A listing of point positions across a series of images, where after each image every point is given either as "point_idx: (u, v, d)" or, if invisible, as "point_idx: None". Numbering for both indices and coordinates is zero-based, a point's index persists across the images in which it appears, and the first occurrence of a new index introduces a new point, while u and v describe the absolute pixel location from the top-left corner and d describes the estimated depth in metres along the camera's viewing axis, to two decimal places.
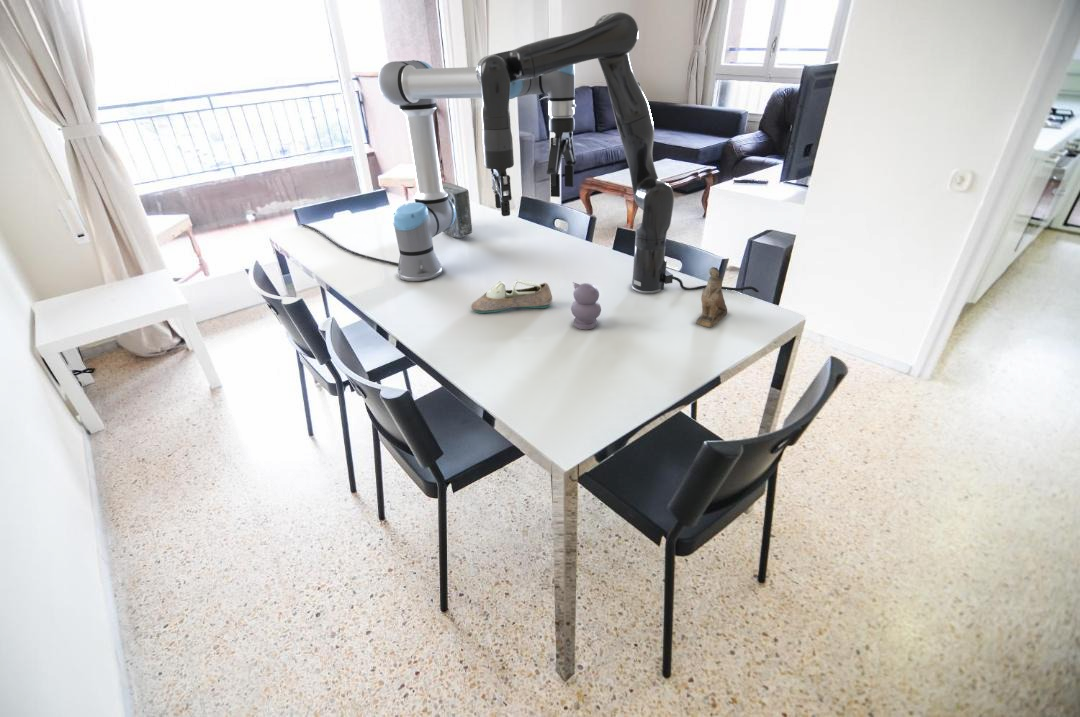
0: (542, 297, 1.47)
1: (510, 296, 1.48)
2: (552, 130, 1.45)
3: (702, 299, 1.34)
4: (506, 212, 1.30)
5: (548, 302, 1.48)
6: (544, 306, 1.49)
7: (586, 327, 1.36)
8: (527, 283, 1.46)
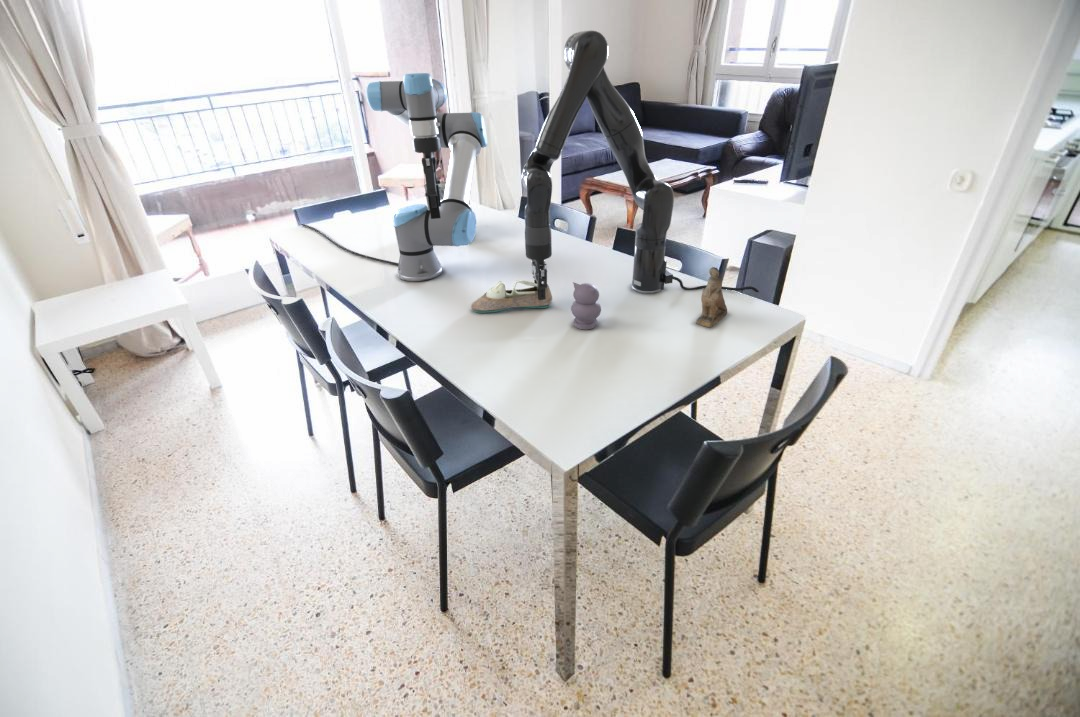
0: None
1: (510, 296, 1.48)
2: (420, 151, 1.38)
3: (702, 299, 1.34)
4: (542, 297, 1.45)
5: (548, 302, 1.48)
6: (544, 306, 1.49)
7: (586, 327, 1.36)
8: (527, 283, 1.46)
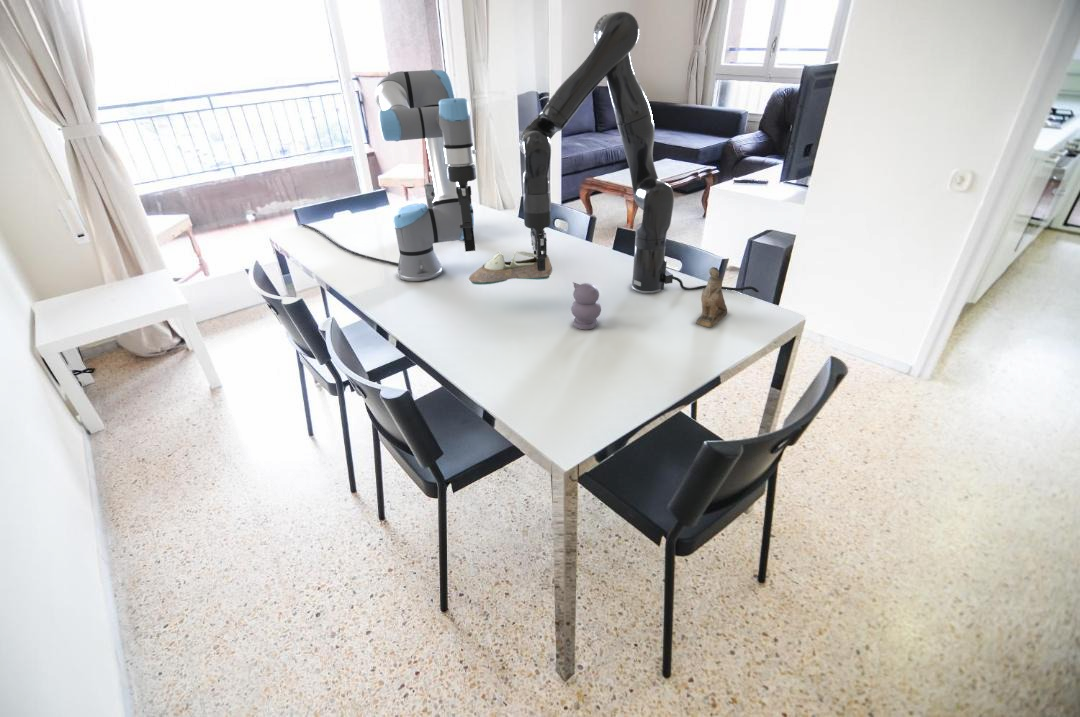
0: None
1: (509, 267, 1.44)
2: (455, 180, 1.29)
3: (702, 299, 1.34)
4: (541, 268, 1.41)
5: (548, 273, 1.44)
6: (544, 278, 1.45)
7: (586, 327, 1.36)
8: (526, 254, 1.43)
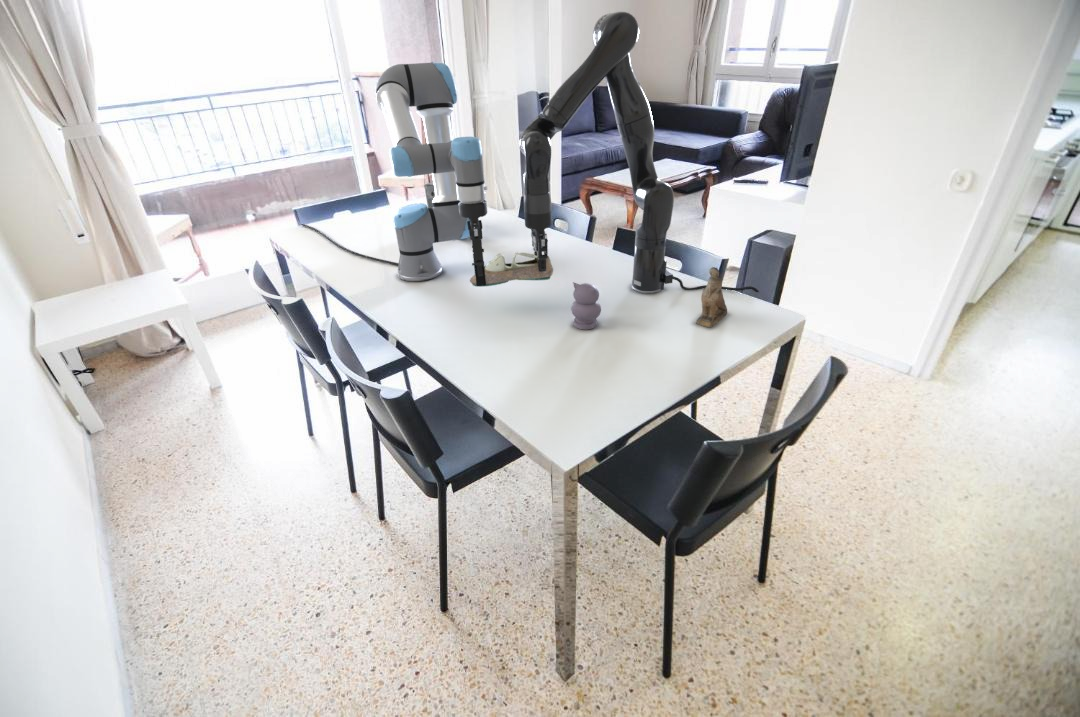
0: None
1: (510, 269, 1.44)
2: (467, 216, 1.32)
3: (702, 299, 1.34)
4: (542, 268, 1.41)
5: (549, 274, 1.44)
6: (545, 278, 1.44)
7: (586, 327, 1.36)
8: (527, 255, 1.42)
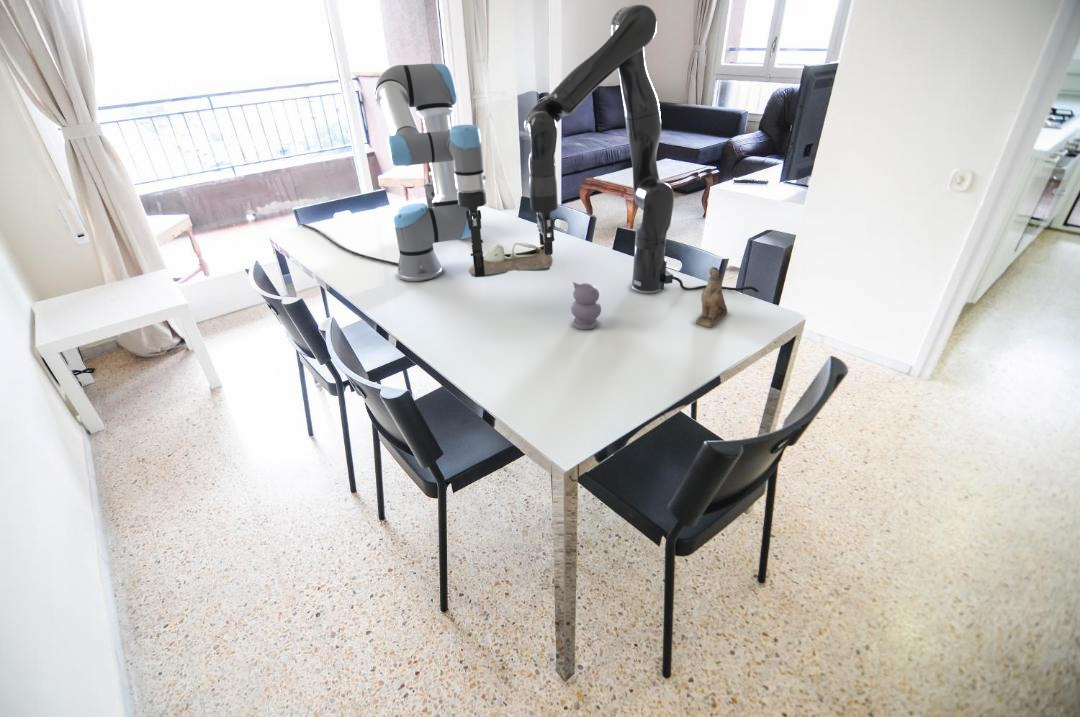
0: (543, 260, 1.41)
1: (509, 259, 1.42)
2: (465, 205, 1.30)
3: (702, 299, 1.34)
4: (549, 251, 1.38)
5: (548, 265, 1.42)
6: (544, 269, 1.43)
7: (586, 327, 1.36)
8: (526, 245, 1.41)
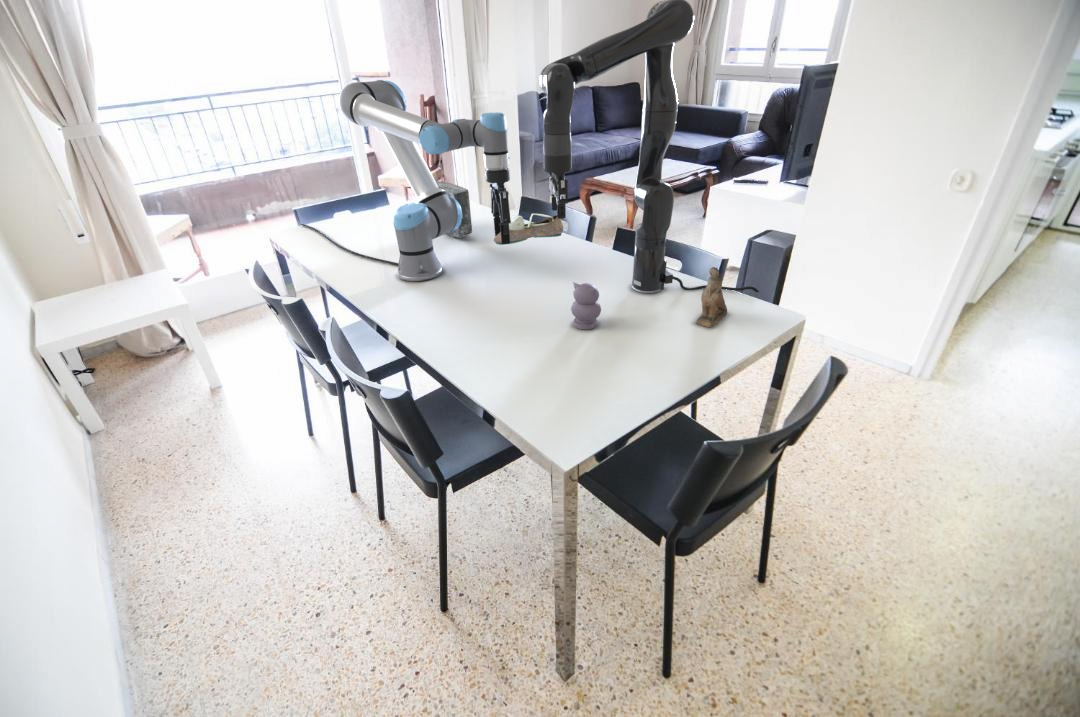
0: (556, 226, 1.67)
1: (527, 228, 1.66)
2: (494, 181, 1.53)
3: (702, 299, 1.34)
4: (562, 215, 1.33)
5: (561, 231, 1.68)
6: (558, 235, 1.69)
7: (586, 327, 1.36)
8: (542, 215, 1.66)
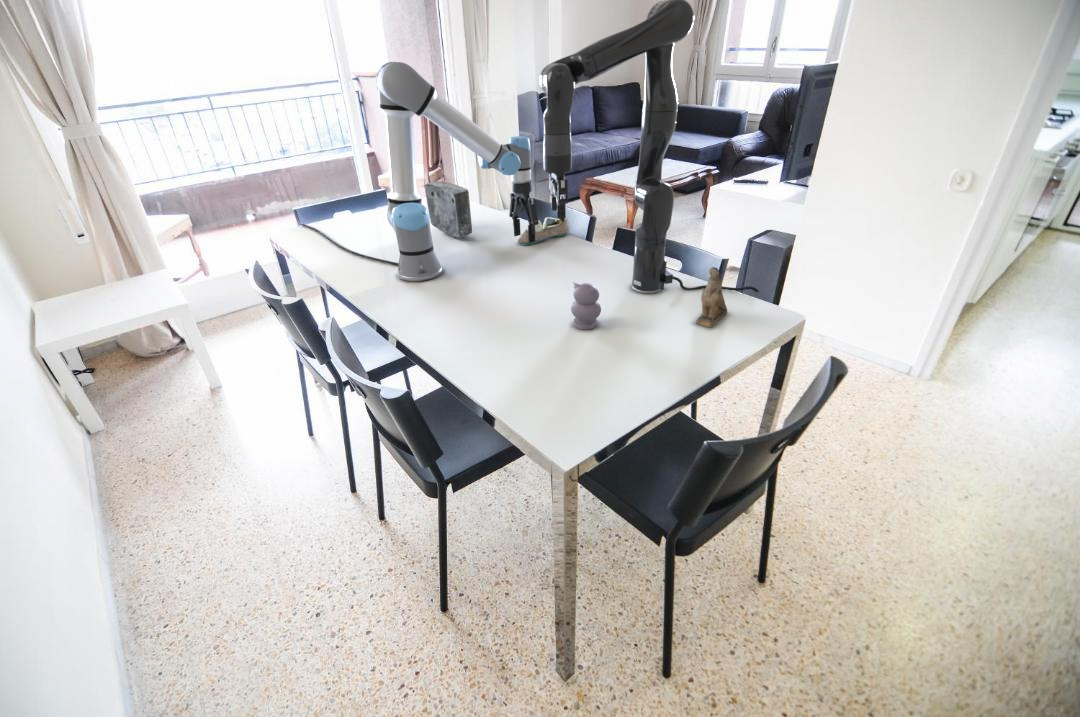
0: (565, 227, 2.05)
1: (543, 230, 2.03)
2: (522, 192, 1.87)
3: (702, 299, 1.34)
4: (562, 215, 1.33)
5: (568, 230, 2.07)
6: (565, 234, 2.07)
7: (586, 327, 1.36)
8: (553, 218, 2.03)
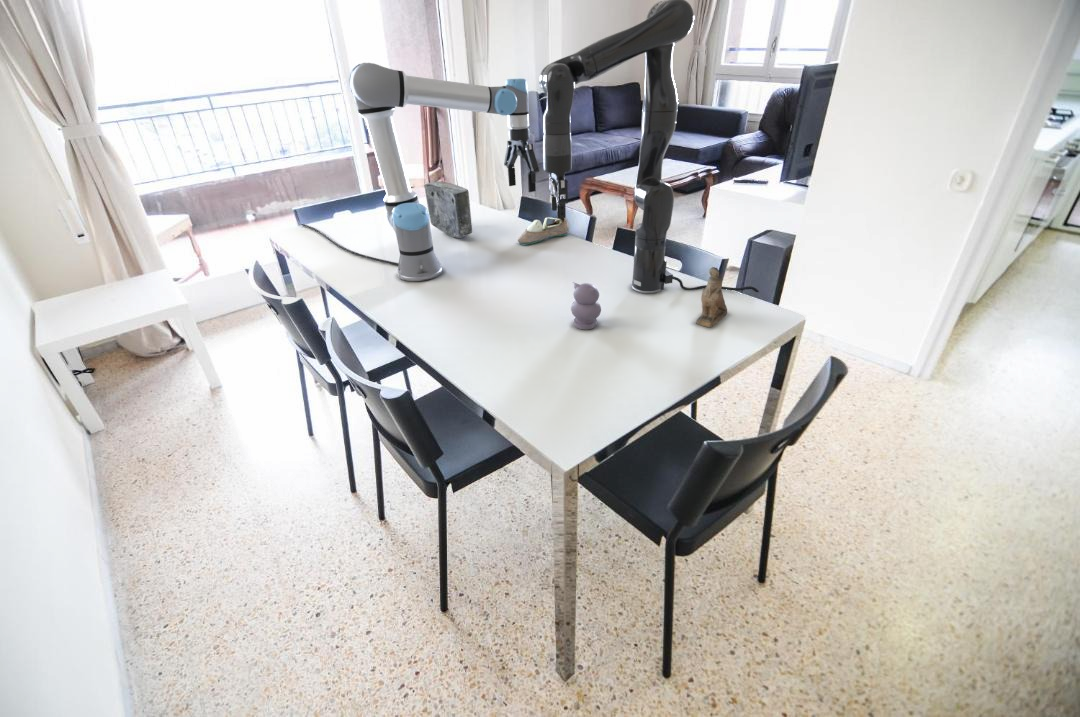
0: (565, 227, 2.05)
1: (543, 230, 2.03)
2: (520, 139, 1.77)
3: (702, 299, 1.34)
4: (562, 215, 1.33)
5: (568, 230, 2.07)
6: (565, 234, 2.07)
7: (586, 327, 1.36)
8: (553, 218, 2.03)
